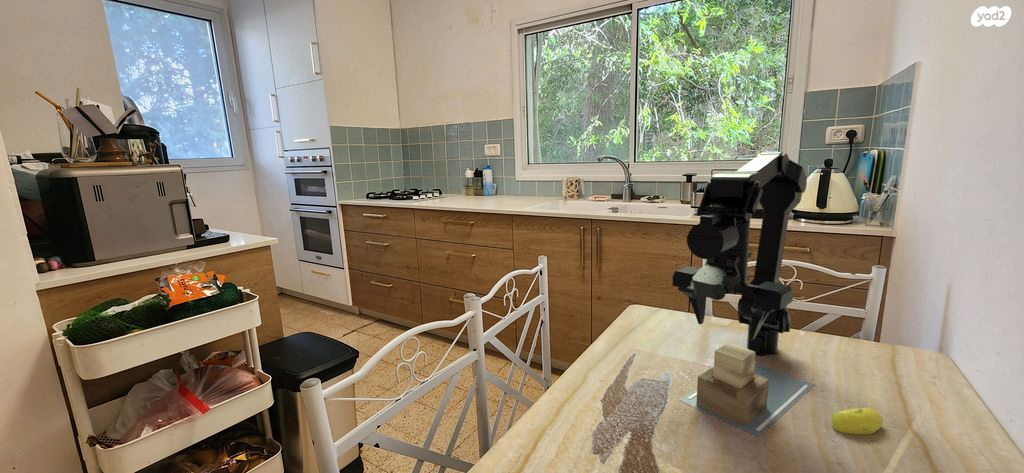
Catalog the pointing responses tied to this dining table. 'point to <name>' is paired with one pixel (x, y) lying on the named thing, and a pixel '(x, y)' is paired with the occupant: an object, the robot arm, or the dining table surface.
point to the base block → (732, 397)
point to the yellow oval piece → (857, 421)
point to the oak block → (734, 365)
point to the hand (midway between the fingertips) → (725, 330)
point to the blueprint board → (780, 399)
